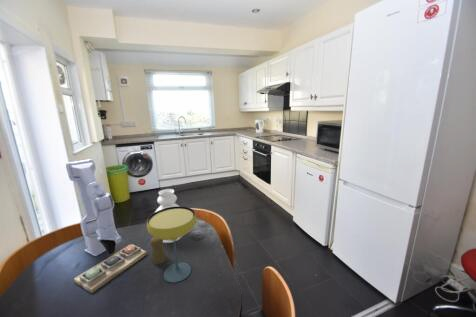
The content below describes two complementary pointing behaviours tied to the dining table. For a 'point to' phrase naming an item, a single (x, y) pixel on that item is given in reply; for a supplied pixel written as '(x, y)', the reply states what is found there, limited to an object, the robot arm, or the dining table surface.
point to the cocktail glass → (173, 235)
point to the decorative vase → (167, 204)
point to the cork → (157, 251)
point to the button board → (110, 269)
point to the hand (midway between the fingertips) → (111, 252)
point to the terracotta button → (129, 249)
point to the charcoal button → (112, 260)
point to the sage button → (92, 273)
